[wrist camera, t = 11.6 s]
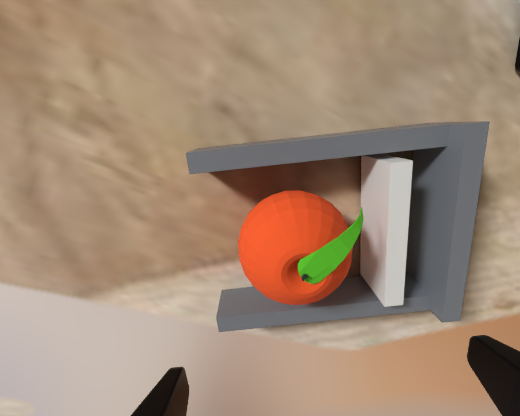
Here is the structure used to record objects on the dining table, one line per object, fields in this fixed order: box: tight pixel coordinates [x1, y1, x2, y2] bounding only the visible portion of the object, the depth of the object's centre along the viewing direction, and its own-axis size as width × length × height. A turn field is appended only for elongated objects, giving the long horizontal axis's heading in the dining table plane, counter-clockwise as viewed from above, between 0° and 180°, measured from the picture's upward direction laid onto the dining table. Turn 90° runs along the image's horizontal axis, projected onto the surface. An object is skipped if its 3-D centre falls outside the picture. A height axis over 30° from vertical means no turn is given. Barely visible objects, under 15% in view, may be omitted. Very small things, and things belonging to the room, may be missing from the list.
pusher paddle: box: [360, 154, 413, 307], centre depth 17 cm, size 1×9×4 cm, turn 6°
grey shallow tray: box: [186, 122, 489, 332], centre depth 17 cm, size 16×12×4 cm
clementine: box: [238, 190, 364, 305], centre depth 16 cm, size 8×7×7 cm
